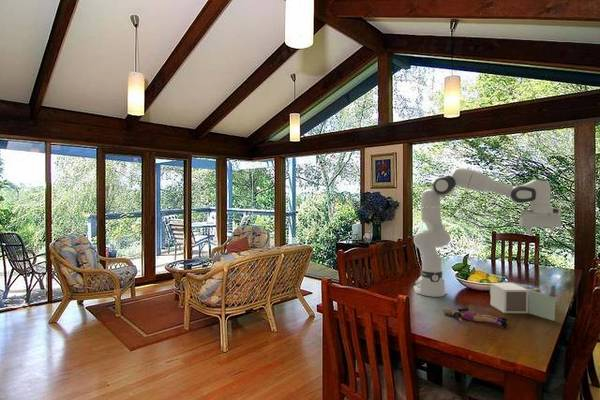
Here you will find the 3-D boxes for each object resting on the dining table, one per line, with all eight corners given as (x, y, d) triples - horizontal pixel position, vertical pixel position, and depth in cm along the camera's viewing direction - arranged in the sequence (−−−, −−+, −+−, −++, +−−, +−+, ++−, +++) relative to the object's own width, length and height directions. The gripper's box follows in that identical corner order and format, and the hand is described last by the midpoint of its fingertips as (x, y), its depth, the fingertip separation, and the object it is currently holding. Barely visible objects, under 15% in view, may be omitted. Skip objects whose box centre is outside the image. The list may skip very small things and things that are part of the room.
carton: (490, 304, 192) (490, 283, 191) (512, 304, 191) (512, 283, 191) (504, 313, 178) (504, 289, 178) (528, 313, 178) (528, 290, 178)
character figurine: (508, 322, 168) (448, 308, 185) (509, 313, 168) (448, 300, 185) (502, 336, 152) (436, 320, 169) (503, 326, 152) (437, 311, 169)
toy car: (499, 294, 212) (499, 278, 211) (543, 306, 189) (543, 288, 189) (488, 296, 207) (488, 280, 206) (531, 309, 185) (532, 290, 184)
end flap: (553, 321, 166) (554, 286, 166) (526, 313, 177) (527, 280, 177) (556, 320, 167) (557, 286, 167) (529, 312, 178) (530, 280, 178)
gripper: (524, 210, 182) (523, 236, 182) (563, 210, 182) (563, 236, 182) (516, 209, 188) (516, 234, 189) (555, 209, 188) (554, 234, 188)
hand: (539, 235), depth 185 cm, fingers open, 8 cm apart
